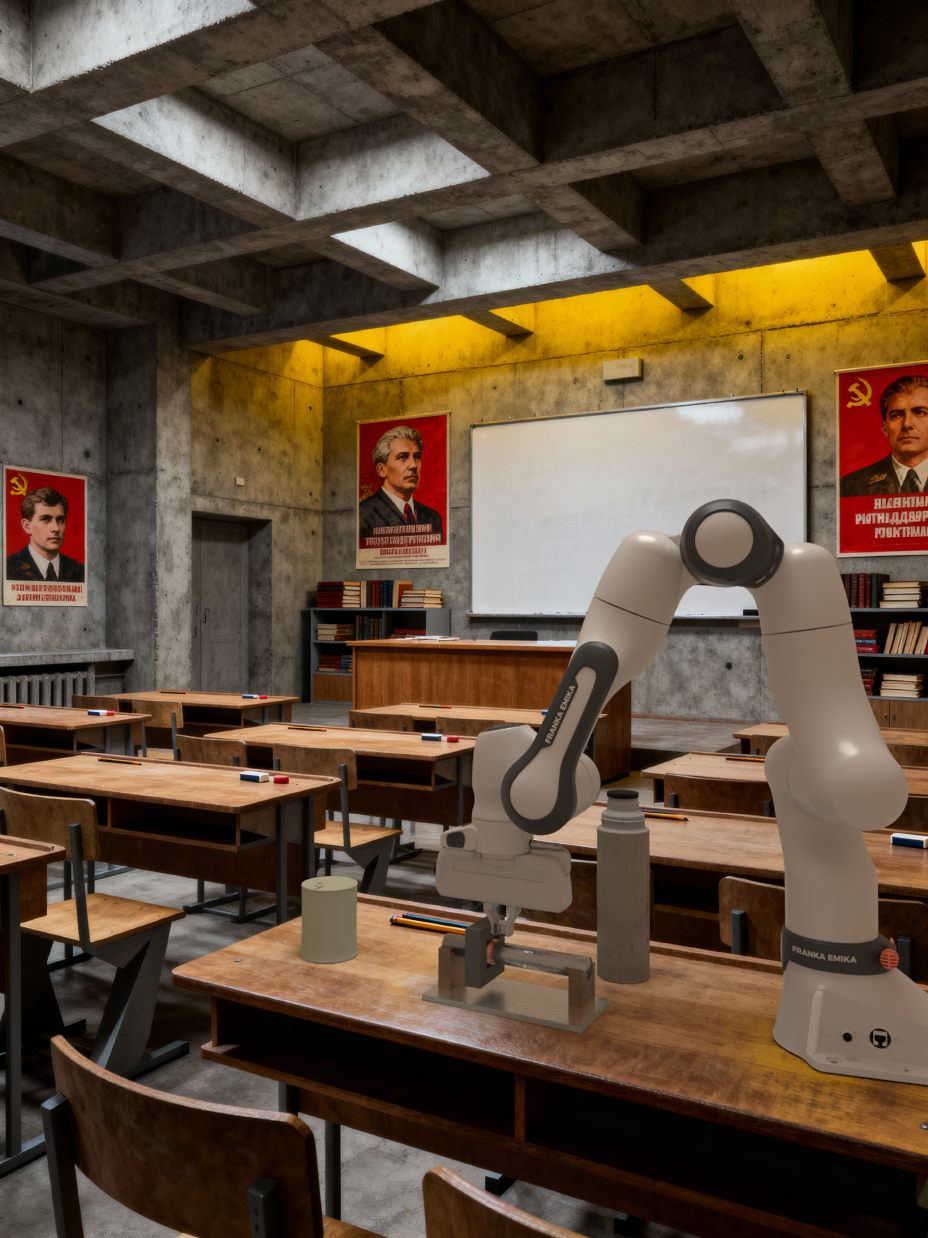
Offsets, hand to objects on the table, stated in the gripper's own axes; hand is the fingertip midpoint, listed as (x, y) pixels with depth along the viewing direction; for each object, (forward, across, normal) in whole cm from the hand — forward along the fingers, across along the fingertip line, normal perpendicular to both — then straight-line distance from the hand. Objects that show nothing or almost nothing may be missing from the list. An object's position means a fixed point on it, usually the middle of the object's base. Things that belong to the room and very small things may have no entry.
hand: (502, 934), depth 131 cm
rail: (+9, -2, 0) cm, 9 cm away
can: (+9, +33, -4) cm, 35 cm away
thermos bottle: (+9, -12, -18) cm, 24 cm away
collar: (+7, +3, 0) cm, 7 cm away
